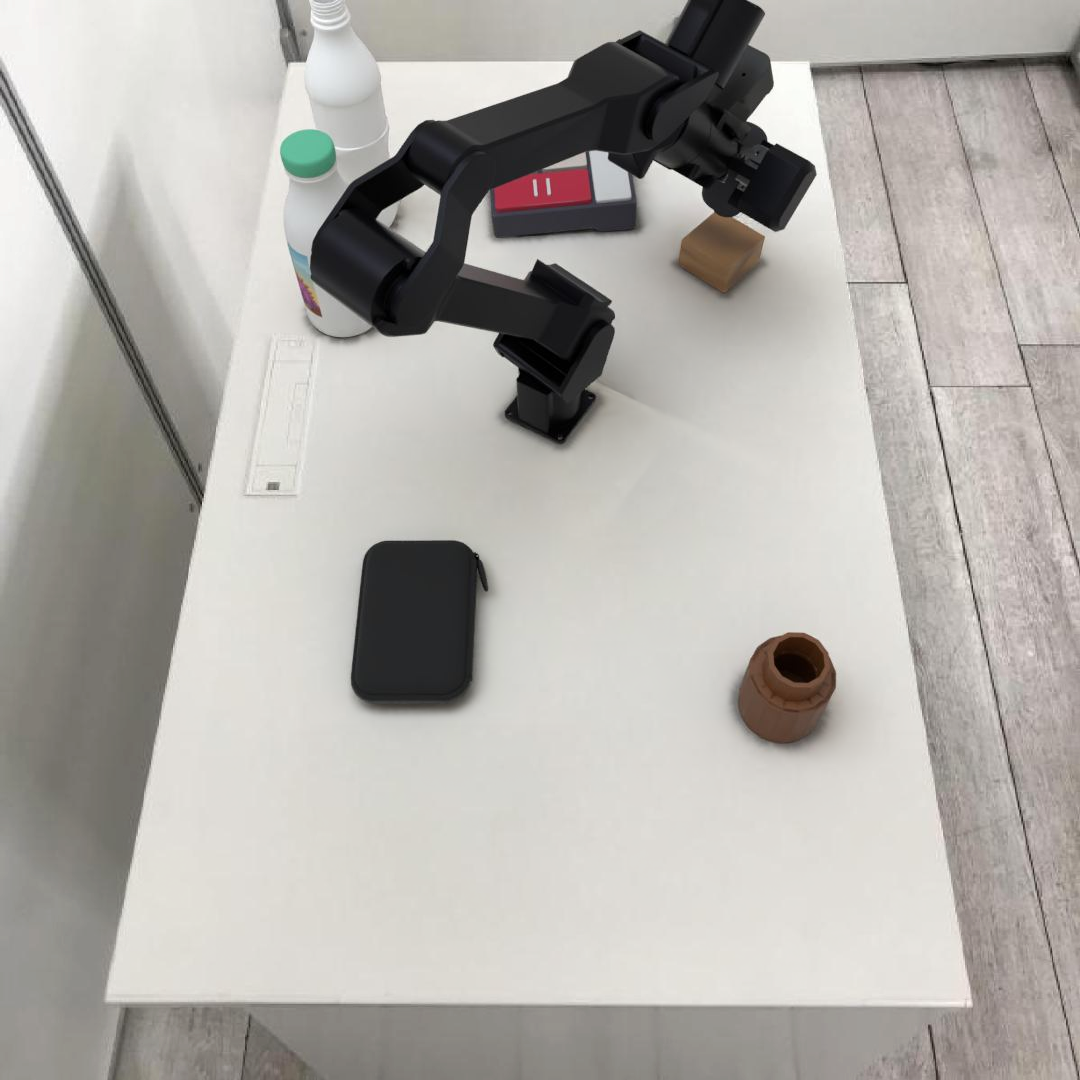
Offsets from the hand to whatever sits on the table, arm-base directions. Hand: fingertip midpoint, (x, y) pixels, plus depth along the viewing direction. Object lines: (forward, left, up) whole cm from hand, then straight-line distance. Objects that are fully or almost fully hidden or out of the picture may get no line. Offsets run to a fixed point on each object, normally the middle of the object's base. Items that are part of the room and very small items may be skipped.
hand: (740, 172), depth 101 cm
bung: (-1, 0, -3) cm, 4 cm away
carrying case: (-51, +2, -11) cm, 52 cm away
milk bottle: (-26, +29, -11) cm, 41 cm away
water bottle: (-14, +35, -11) cm, 40 cm away
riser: (-1, 0, -11) cm, 11 cm away
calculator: (-1, +19, -11) cm, 22 cm away
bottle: (-42, -26, -11) cm, 51 cm away
